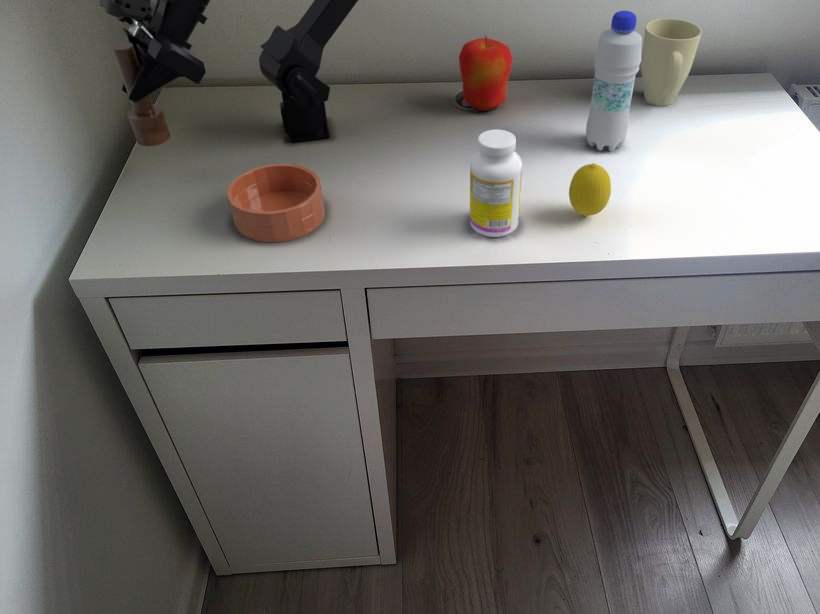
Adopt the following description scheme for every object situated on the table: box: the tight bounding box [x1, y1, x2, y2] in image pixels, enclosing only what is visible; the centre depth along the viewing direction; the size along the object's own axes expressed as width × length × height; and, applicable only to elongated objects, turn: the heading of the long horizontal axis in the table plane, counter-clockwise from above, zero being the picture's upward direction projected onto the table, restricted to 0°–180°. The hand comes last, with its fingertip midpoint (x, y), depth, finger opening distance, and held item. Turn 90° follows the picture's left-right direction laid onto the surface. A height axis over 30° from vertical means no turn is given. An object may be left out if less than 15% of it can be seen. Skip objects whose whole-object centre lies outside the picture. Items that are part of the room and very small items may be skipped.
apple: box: [458, 34, 513, 111], centre depth 117 cm, size 9×8×12 cm
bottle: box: [585, 10, 643, 152], centre depth 105 cm, size 7×7×20 cm
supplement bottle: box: [469, 129, 523, 238], centre depth 92 cm, size 7×7×13 cm
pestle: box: [111, 41, 171, 147], centre depth 96 cm, size 5×5×13 cm
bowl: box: [226, 163, 326, 243], centre depth 96 cm, size 12×12×4 cm
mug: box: [640, 18, 703, 107], centre depth 118 cm, size 11×10×12 cm
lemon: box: [568, 163, 612, 217], centre depth 95 cm, size 6×6×8 cm
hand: (128, 96), depth 95 cm, fingers closed on pestle, 2 cm apart
